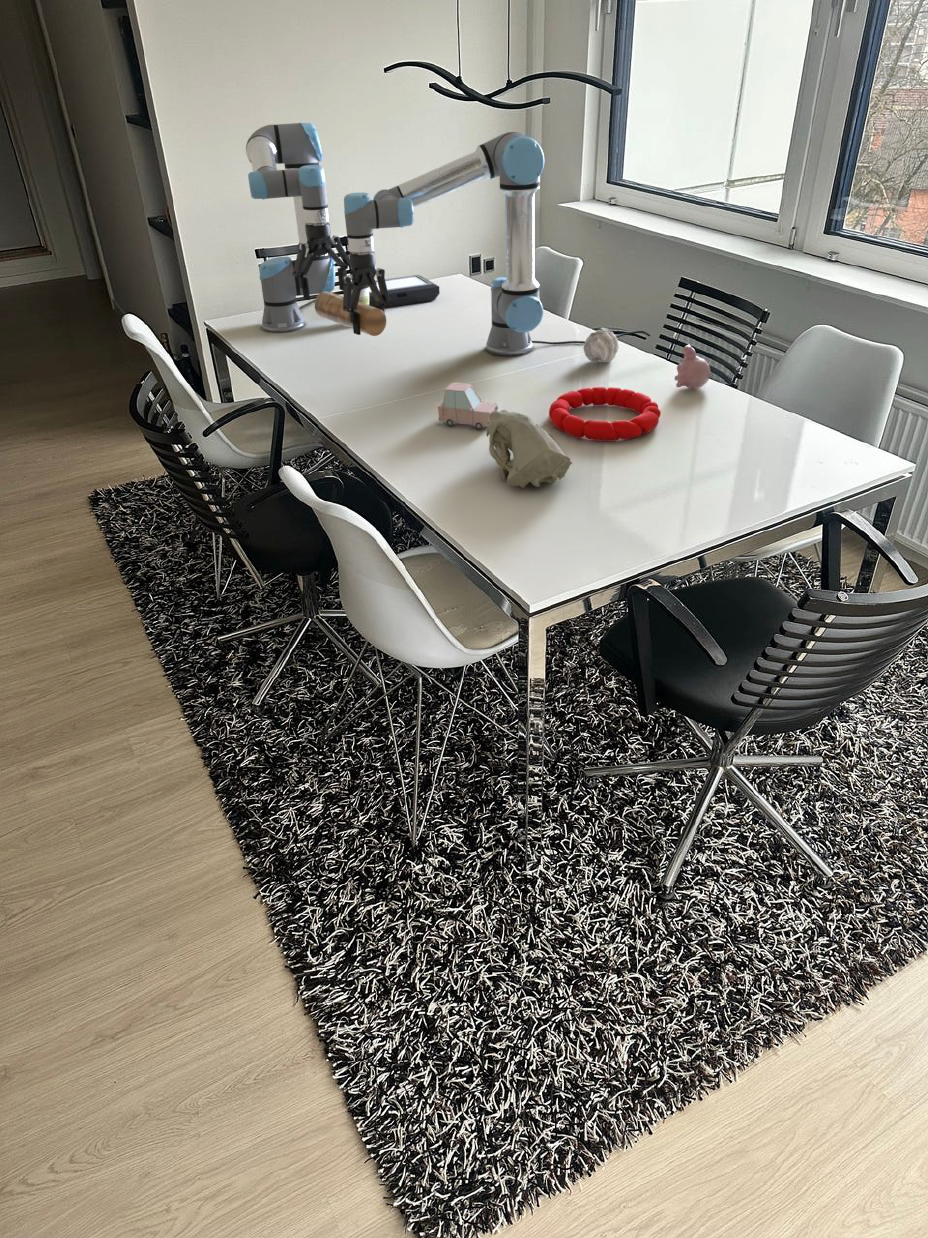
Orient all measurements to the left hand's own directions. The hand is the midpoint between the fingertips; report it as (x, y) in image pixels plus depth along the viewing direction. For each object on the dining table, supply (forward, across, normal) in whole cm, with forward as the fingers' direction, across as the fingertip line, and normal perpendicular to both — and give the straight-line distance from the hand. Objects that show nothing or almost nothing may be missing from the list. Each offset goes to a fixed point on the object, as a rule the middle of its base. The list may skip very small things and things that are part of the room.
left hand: (325, 294), depth 282 cm
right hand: (+6, 0, -23) cm, 24 cm away
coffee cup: (+22, +30, +27) cm, 46 cm away
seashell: (+20, +60, -65) cm, 91 cm away
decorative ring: (+19, +23, -99) cm, 103 cm away
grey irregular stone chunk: (+18, -14, -105) cm, 108 cm away
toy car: (+19, -4, -74) cm, 76 cm away
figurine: (+19, +60, -100) cm, 118 cm away
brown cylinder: (+7, 0, -13) cm, 15 cm away
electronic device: (+23, +57, +42) cm, 74 cm away
